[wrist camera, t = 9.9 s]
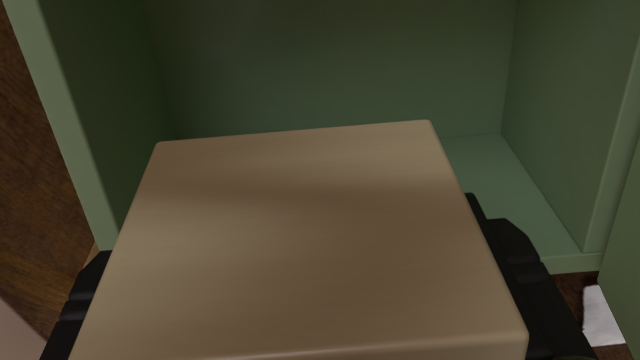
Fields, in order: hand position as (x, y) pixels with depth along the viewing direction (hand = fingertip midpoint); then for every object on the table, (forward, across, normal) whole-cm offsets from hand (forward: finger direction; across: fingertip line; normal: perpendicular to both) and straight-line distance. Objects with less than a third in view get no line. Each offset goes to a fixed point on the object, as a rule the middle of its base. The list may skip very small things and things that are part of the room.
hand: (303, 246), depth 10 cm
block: (0, 0, 0) cm, 0 cm away
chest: (+14, -2, 0) cm, 14 cm away
